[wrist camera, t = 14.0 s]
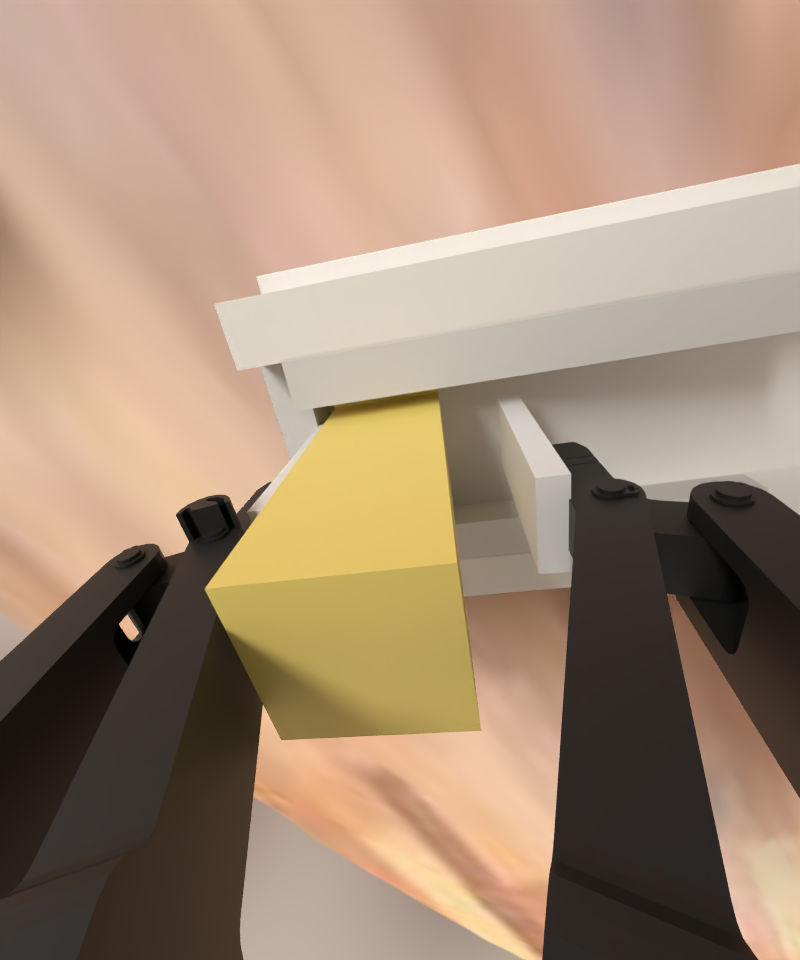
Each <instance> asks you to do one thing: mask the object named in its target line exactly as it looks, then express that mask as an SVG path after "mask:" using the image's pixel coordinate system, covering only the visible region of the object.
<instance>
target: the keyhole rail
mask: <svg viewBox="0 0 800 960" xmlns="http://www.w3.org/2000/svg"><path fill="white" fill-rule="evenodd" d="M256 277H257V280H258V284H259V287H260V290H261V295H256V296H251V297H246V298H241V299H236V300H231V301H226V302H221V303H216V304H214V305H215V308H216V311H217V314H218V317H219V319H220V322H221V325H222V328H223V331H224V334H225V337H226V340H227V342H228V345H229V348H230V351H231V354H232V357H233V360H234V363H235V365H236V368H237V371H238V370H244V369H249V368H255V367H261V370H262V373H263V376H264V379H265V383H266V386H267V389H268V392H269V395H270V398H271V401H272V404H273V407H274V411H275V414H276V417H277V420H278V423H279V426H280V429H281V432H282V435H283V438H284V442H285V445H286V448H287V451H288V454H289V457H290V460H291V458H292V457H293V456H294V455H295V454H296V452H297V451H298V450H299V449H300V448H301V446H302V445H303V444H304V443H305V442H306V440H307V439H308V438H309V437H310V436H311V434H312V433H313V432H314V431H315V430H316V428H317V427H318V426H319V425H323V424H324V423H325V422H326V420H327V419H328V418H329V416H330V415H331V413H332V412H333V411H334V409H335V408H334V405H338V404H344V403H350V402H357V401H363V400H369V399H376V398H382V397H388V396H395V395H401V394H407V393H414V392H420V391H426V390H433V389H438V394H439V402H440V409H441V416H442V424H443V431H444V438H445V446H446V453H447V461H448V468H449V475H450V483H451V490H452V498H453V506H454V508H453V509H454V517H455V525H456V533H457V541H458V549H459V557H460V565H461V574H462V582H463V590H464V597H467V596H479V595H490V594H501V593H512V592H523V591H535V590H546V589H557V588H568V587H571V579H572V564H573V558H572V556H571V554H570V572H560V573H547V574H538V571H537V568H536V565H535V562H534V559H533V556H532V553H531V550H530V547H529V544H528V541H527V538H526V535H525V532H524V529H523V526H522V523H521V520H520V517H519V514H518V511H517V508H516V505H515V502H514V499H513V496H512V493H511V490H510V486H509V483H508V480H507V477H506V474H505V471H504V468H503V465H502V455H501V442H500V428H499V415H498V402H497V398H502V397H508V396H515V395H519V397H520V398H521V400H522V401H523V403H524V404H525V406H526V407H527V409H528V410H529V412H530V413H531V415H532V416H533V418H534V419H535V421H536V422H537V424H538V425H539V427H540V428H541V430H542V431H543V433H544V434H545V436H546V437H547V438H548V440H549V441H550V443H551V444H560V443H567V442H576V443H578V444H580V445H583V446H585V447H587V448H588V449H589V450H590V451H591V453H592V454H593V455H594V457H596V458H597V459H598V461H599V463H601V464H602V465H603V466H604V468H605V469H606V470H607V471H608V472H609V473H610V474H611V476H612V477H613V478H615V479H623V480H627V481H630V482H633V483H635V484H637V485H639V486H640V487H642V489H643V490H644V492H645V493H646V498H648V499H652V500H662V501H678V502H689V498H690V493H691V491H692V489H693V487H695V486H697V485H699V484H702V483H707V482H713V481H735V482H736V483H737V482H742V483H746V484H748V485H751V486H754V487H758V488H761V489H763V490H765V491H766V492H768V493H770V494H772V495H773V496H775V497H776V498H777V499H779V500H780V501H781V502H783V503H784V504H785V505H787V506H788V507H789V508H791V509H792V510H793V511H795V512H796V513H797V514H799V515H800V164H795V165H790V166H786V167H781V168H776V169H771V170H766V171H762V172H757V173H752V174H747V175H742V176H738V177H733V178H728V179H723V180H718V181H713V182H709V183H704V184H699V185H694V186H689V187H685V188H680V189H675V190H670V191H665V192H661V193H656V194H651V195H646V196H641V197H636V198H632V199H627V200H622V201H617V202H612V203H608V204H603V205H598V206H593V207H588V208H583V209H579V210H574V211H569V212H564V213H559V214H555V215H550V216H545V217H540V218H535V219H531V220H526V221H521V222H516V223H511V224H506V225H502V226H497V227H492V228H487V229H482V230H478V231H473V232H468V233H463V234H458V235H454V236H449V237H444V238H439V239H434V240H429V241H425V242H420V243H415V244H410V245H405V246H401V247H396V248H391V249H386V250H381V251H376V252H372V253H367V254H362V255H357V256H352V257H348V258H343V259H338V260H333V261H328V262H324V263H319V264H314V265H309V266H304V267H299V268H295V269H290V270H285V271H280V272H275V273H271V274H266V275H261V276H256Z"/></svg>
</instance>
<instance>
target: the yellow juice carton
mask: <svg viewBox="0 0 800 960" xmlns="http://www.w3.org/2000/svg"><path fill="white" fill-rule="evenodd" d="M334 408H335V409H334V411H333V412H332V413H331V415H330V416H329V418H328V419H327V420H326V422H325V423H324V425H323V426H322V427H321V429H320V430H319V431H318V433H317V434H316V436H315V437H314V438H313V440H312V441H311V442H310V444H309V445H308V447H307V448H306V449H305V451H304V452H303V454H302V455H301V456H300V458H299V459H298V460H297V462H296V463H295V465H294V466H293V467H292V469H291V470H290V472H289V473H288V474H287V476H286V477H285V478H284V480H283V481H282V483H281V484H280V485H279V487H278V488H277V489H276V491H275V492H274V494H273V495H272V496H271V498H270V499H269V501H268V502H267V503H266V505H265V506H264V507H263V509H262V510H261V512H260V513H259V514H258V516H257V517H256V518H255V520H254V521H253V523H252V524H251V525H250V527H249V528H248V530H247V531H246V532H245V534H244V535H243V536H242V538H241V539H240V541H239V542H238V543H237V545H236V546H235V547H234V549H233V550H232V552H231V553H230V554H229V556H228V557H227V559H226V560H225V561H224V563H223V564H222V565H221V567H220V568H219V570H218V571H217V572H216V574H215V575H214V577H213V578H212V579H211V581H210V582H209V583H208V585H207V586H206V588H205V591H206V593H207V595H208V597H209V599H210V601H211V603H212V605H213V607H214V609H215V611H216V613H217V614H218V616H219V618H220V620H221V622H222V624H223V626H224V628H225V630H226V632H227V634H228V636H229V638H230V640H231V642H232V644H233V646H234V648H235V650H236V652H237V654H238V656H239V658H240V660H241V662H242V664H243V666H244V667H245V669H246V671H247V673H248V675H249V677H250V679H251V681H252V683H253V685H254V687H255V689H256V691H257V693H258V695H259V697H260V699H261V701H262V703H263V705H264V707H265V709H266V711H267V713H268V715H269V717H270V719H271V720H272V722H273V724H274V726H275V728H276V730H277V732H278V734H279V736H280V738H281V740H293V739H314V738H335V737H356V736H377V735H398V734H419V733H440V732H461V731H481V728H480V720H479V712H478V703H477V695H476V687H475V679H474V671H473V663H472V655H471V647H470V639H469V630H468V622H467V614H466V606H465V598H464V590H463V582H462V574H461V565H460V557H459V549H458V541H457V533H456V525H455V517H454V509H453V508H454V506H453V498H452V490H451V483H450V475H449V468H448V461H447V453H446V446H445V438H444V431H443V424H442V416H441V409H440V402H439V394H438V389H433V390H426V391H420V392H414V393H407V394H401V395H395V396H388V397H382V398H376V399H369V400H363V401H357V402H350V403H344V404H338V405H334Z"/></svg>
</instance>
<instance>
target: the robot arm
mask: <svg viewBox="0 0 800 960" xmlns="http://www.w3.org/2000/svg"><path fill="white" fill-rule="evenodd" d="M497 402H498V415H499V428H500V442H501V455H502V465H503V468H504V471H505V474H506V477H507V480H508V483H509V486H510V490H511V493H512V496H513V499H514V502H515V505H516V508H517V511H518V514H519V517H520V520H521V523H522V526H523V529H524V532H525V535H526V538H527V541H528V544H529V547H530V550H531V553H532V556H533V559H534V562H535V565H536V568H537V571H538V574H547V573H560V572H570V554H571V556H572V558H573V564H572V579H571V594H570V609H569V624H568V639H567V654H566V668H565V683H564V698H563V713H562V728H561V743H560V758H559V772H558V787H557V802H556V817H555V832H554V845H553V856H552V863H551V868H550V874H549V884H548V894H547V906H546V919H545V931H544V945H543V959H542V960H758V959H757V957H756V956H755V955H754V953H753V952H752V950H751V949H750V947H749V946H748V945H747V943H746V942H745V940H744V939H743V937H742V934H741V932H740V929H739V927H738V924H737V921H736V917H735V913H734V909H733V906H732V902H731V897H730V892H729V888H728V883H727V878H726V873H725V869H724V864H723V859H722V854H721V850H720V845H719V840H718V835H717V831H716V826H715V821H714V816H713V812H712V807H711V802H710V797H709V793H708V788H707V783H706V778H705V774H704V769H703V764H702V759H701V754H700V750H699V745H698V740H697V735H696V731H695V726H694V721H693V716H692V712H691V707H690V702H689V697H688V693H687V688H686V683H685V678H684V674H683V669H682V664H681V659H680V655H679V650H678V645H677V640H676V636H675V631H674V626H673V621H672V617H671V612H670V607H669V602H668V598H667V593H668V594H675V595H676V598H677V600H678V602H679V603H680V605H681V607H682V608H683V610H684V612H685V613H686V615H687V616H688V618H689V620H690V621H691V623H692V625H693V626H694V628H695V629H696V631H697V633H698V634H699V636H700V637H701V639H702V641H703V642H704V644H705V646H706V647H707V649H708V650H709V652H710V654H711V655H712V657H713V658H714V660H715V662H716V663H717V665H718V667H719V668H720V670H721V671H722V673H723V675H724V676H725V678H726V680H727V681H728V683H729V684H730V686H731V688H732V689H733V691H734V692H735V694H736V696H737V697H738V699H739V701H740V702H741V704H742V705H743V707H744V709H745V710H746V712H747V713H748V715H749V717H750V718H751V720H752V722H753V723H754V725H755V726H756V728H757V730H758V731H759V733H760V735H761V736H762V738H763V739H764V741H765V743H766V744H767V746H768V747H769V749H770V751H771V752H772V754H773V756H774V757H775V759H776V760H777V762H778V764H779V765H780V767H781V768H782V770H783V772H784V773H785V775H786V777H787V778H788V780H789V781H790V783H791V785H792V786H793V788H794V790H795V791H796V793H797V794H798V796H799V798H800V515H799V514H797V513H796V512H795V511H793V510H792V509H791V508H789V507H788V506H787V505H785V504H784V503H783V502H781V501H780V500H779V499H777V498H776V497H775V496H773V495H772V494H770V493H768V492H766V491H765V490H763V489H761V488H758V487H754V486H751V485H748V484H746V483H742V482H737V483H736V482H735V481H713V482H707V483H702V484H699V485H697V486H695V487H693V489H692V491H691V493H690V498H689V502H678V501H662V500H652V499H648V498H646V493H645V492H644V490H643V489H642V487H640V486H639V485H637V484H635V483H633V482H630V481H627V480H623V479H615V478H613V477H612V476H611V474H610V473H609V472H608V471H607V470H606V469H605V468H604V466H603V465H602V464H601V463H599V461H598V459H597V458H596V457H594V455H593V454H592V453H591V451H590V450H589V449H588V448H587V447H585V446H583V445H580V444H578V443H576V442H567V443H560V444H551V443H550V441H549V440H548V438H547V437H546V436H545V434H544V433H543V431H542V430H541V428H540V427H539V425H538V424H537V422H536V421H535V419H534V418H533V416H532V415H531V413H530V412H529V410H528V409H527V407H526V406H525V404H524V403H523V401H522V400H521V398H520V397H519V395H515V396H508V397H502V398H497ZM323 425H324V424H323ZM323 425H319V426H318V427H317V428H316V430H315V431H314V432H313V433H312V434H311V436H310V437H309V438H308V439H307V440H306V442H305V443H304V444H303V445H302V446H301V448H300V449H299V450H298V451H297V452H296V454H295V455H294V456H293V457H292V458H291V460H290V461H289V462H288V463H287V464H286V466H285V467H284V468H283V469H282V470H281V472H280V473H279V474H278V475H277V477H276V478H275V479H274V480H273V481H272V482H269V483H267V484H266V485H264V486H263V487H261V488H260V489H258V490H257V491H256V492H255V493H254V495H253V496H252V497H251V498H250V500H248V501H247V503H246V504H245V505H244V507H242V508H241V510H240V511H239V512H238V513H237V514H236V512H235V510H234V508H233V505H232V503H231V500H230V498H229V497H228V496H226V495H214V496H209V497H206V498H202V499H199V500H197V501H195V502H193V503H191V504H188V505H187V506H185V507H184V508H182V509H181V510H180V511H179V512H178V513H177V514H176V516H177V518H178V520H179V522H180V524H181V526H182V528H183V530H184V532H185V534H186V536H187V538H188V540H189V544H188V546H187V548H186V550H185V552H182V553H178V554H175V555H171V556H168V557H164V555H163V554H162V552H161V550H160V548H159V546H157V545H155V544H145V545H141V546H134V547H131V549H130V548H129V549H126V550H124V551H123V552H122V553H120V554H119V555H117V556H115V557H114V558H113V559H111V560H110V561H109V562H107V563H106V564H105V565H104V566H103V567H102V568H101V569H100V570H99V571H98V572H97V573H95V574H94V575H93V576H92V577H91V578H90V579H89V580H88V581H87V582H86V583H85V584H84V585H82V586H81V587H80V588H79V589H78V590H77V591H76V592H75V593H74V594H73V595H72V596H71V597H69V598H68V599H67V600H66V601H65V602H64V603H63V604H62V605H61V606H60V607H59V608H58V609H56V610H55V611H54V612H53V613H52V614H51V615H50V616H49V617H48V618H47V619H46V620H45V621H43V622H42V623H41V624H40V625H39V626H38V627H37V628H36V629H35V630H34V631H33V632H32V633H30V634H29V635H28V636H27V637H26V638H25V639H24V640H23V641H22V642H21V643H20V644H19V645H17V646H16V647H15V648H14V649H13V650H12V651H11V652H10V653H9V654H8V655H7V656H6V657H4V658H3V660H1V661H0V960H243V955H242V951H241V945H240V917H241V907H242V898H243V888H244V878H245V868H246V859H247V850H248V840H249V830H250V821H251V811H252V802H253V792H254V783H255V773H256V764H257V754H258V745H259V735H260V726H261V716H262V706H263V703H262V701H261V699H260V697H259V695H258V693H257V691H256V689H255V687H254V685H253V683H252V681H251V679H250V677H249V675H248V673H247V671H246V669H245V667H244V666H243V664H242V662H241V660H240V658H239V656H238V654H237V652H236V650H235V648H234V646H233V644H232V642H231V640H230V638H229V636H228V634H227V632H226V630H225V628H224V626H223V624H222V622H221V620H220V618H219V616H218V614H217V613H216V611H215V609H214V607H213V605H212V603H211V601H210V599H209V597H208V595H207V593H206V591H205V588H206V586H207V585H208V583H209V582H210V581H211V579H212V578H213V577H214V575H215V574H216V572H217V571H218V570H219V568H220V567H221V565H222V564H223V563H224V561H225V560H226V559H227V557H228V556H229V554H230V553H231V552H232V550H233V549H234V547H235V546H236V545H237V543H238V542H239V541H240V539H241V538H242V536H243V535H244V534H245V532H246V531H247V530H248V528H249V527H250V525H251V524H252V523H253V521H254V520H255V518H256V517H257V516H258V514H259V513H260V512H261V510H262V509H263V507H264V506H265V505H266V503H267V502H268V501H269V499H270V498H271V496H272V495H273V494H274V492H275V491H276V489H277V488H278V487H279V485H280V484H281V483H282V481H283V480H284V478H285V477H286V476H287V474H288V473H289V472H290V470H291V469H292V467H293V466H294V465H295V463H296V462H297V460H298V459H299V458H300V456H301V455H302V454H303V452H304V451H305V449H306V448H307V447H308V445H309V444H310V442H311V441H312V440H313V438H314V437H315V436H316V434H317V433H318V431H319V430H320V429H321V427H322V426H323ZM127 614H128V616H129V617H130V619H131V620H132V622H133V624H134V625H135V627H136V628H137V630H138V631H139V634H138V635H137V636H136V638H135V639H133V640H132V641H131V640H130V639H128V638H127V636H126V635H125V633H124V632H123V630H122V629H121V627H120V626H119V623H120V622H121V621H122V620H123V618H124V617H125V616H126V615H127Z"/></svg>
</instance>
